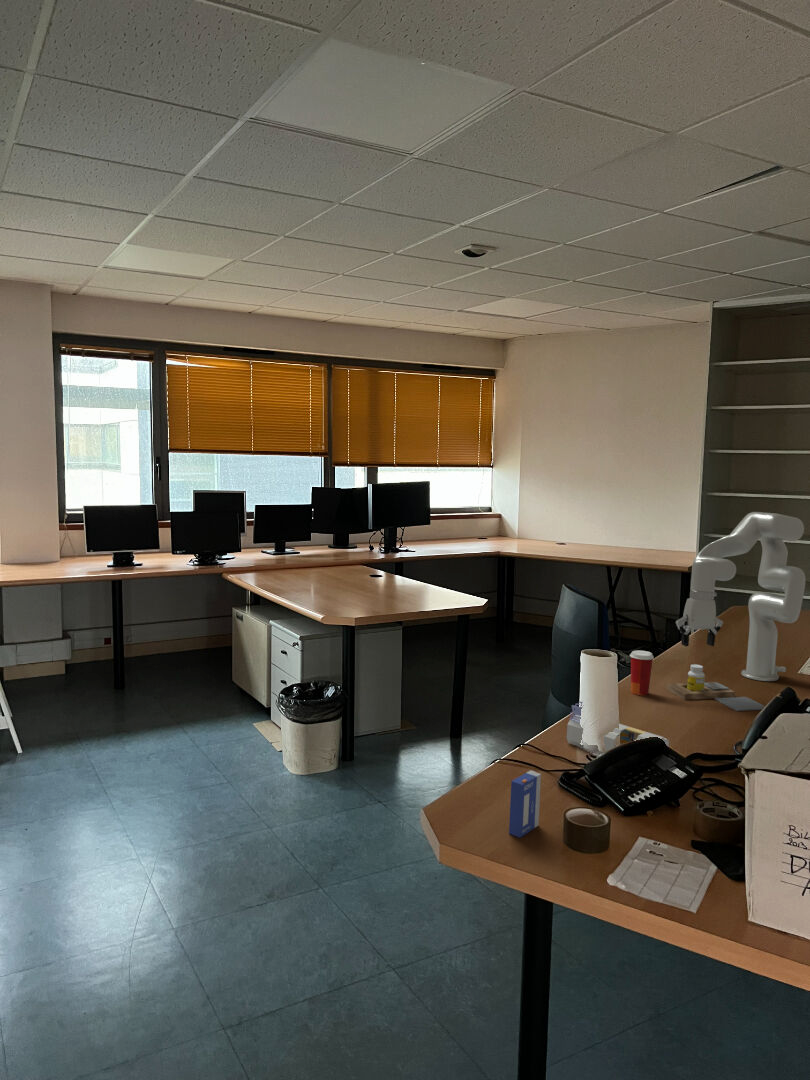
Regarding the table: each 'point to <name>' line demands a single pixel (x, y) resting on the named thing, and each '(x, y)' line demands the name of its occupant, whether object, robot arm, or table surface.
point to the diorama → (609, 740)
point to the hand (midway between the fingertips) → (697, 645)
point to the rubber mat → (740, 703)
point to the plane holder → (709, 691)
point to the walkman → (524, 803)
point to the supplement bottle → (696, 678)
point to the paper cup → (640, 672)
